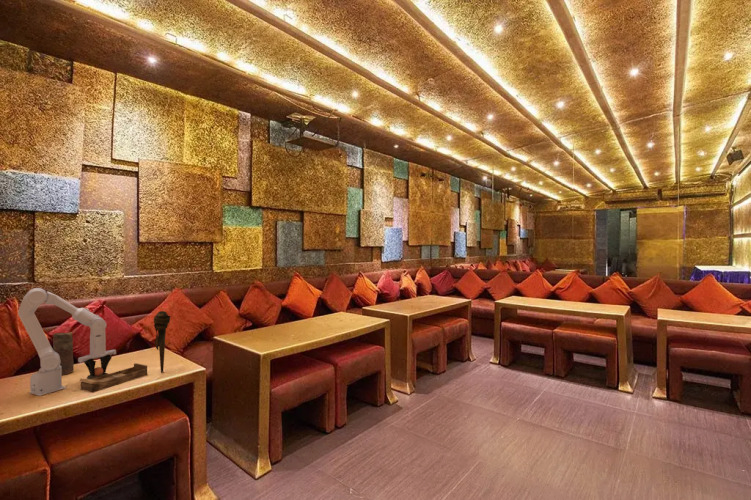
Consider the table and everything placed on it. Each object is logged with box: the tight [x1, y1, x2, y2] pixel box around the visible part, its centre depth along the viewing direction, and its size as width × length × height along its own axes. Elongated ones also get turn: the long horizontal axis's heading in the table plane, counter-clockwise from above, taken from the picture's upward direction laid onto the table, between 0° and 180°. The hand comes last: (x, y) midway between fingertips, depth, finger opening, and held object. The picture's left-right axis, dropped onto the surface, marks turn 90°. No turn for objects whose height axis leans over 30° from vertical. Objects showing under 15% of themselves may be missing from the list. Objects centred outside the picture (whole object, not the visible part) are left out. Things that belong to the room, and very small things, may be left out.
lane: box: [79, 362, 148, 393], centre depth 162 cm, size 23×9×4 cm, turn 155°
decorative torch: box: [153, 310, 171, 374], centre depth 174 cm, size 7×7×30 cm
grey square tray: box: [86, 372, 109, 379], centre depth 164 cm, size 6×6×3 cm
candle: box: [52, 331, 75, 376], centre depth 174 cm, size 8×7×20 cm
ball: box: [94, 366, 103, 376], centre depth 164 cm, size 4×4×4 cm
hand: (97, 373), depth 164 cm, fingers closed on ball, 4 cm apart
